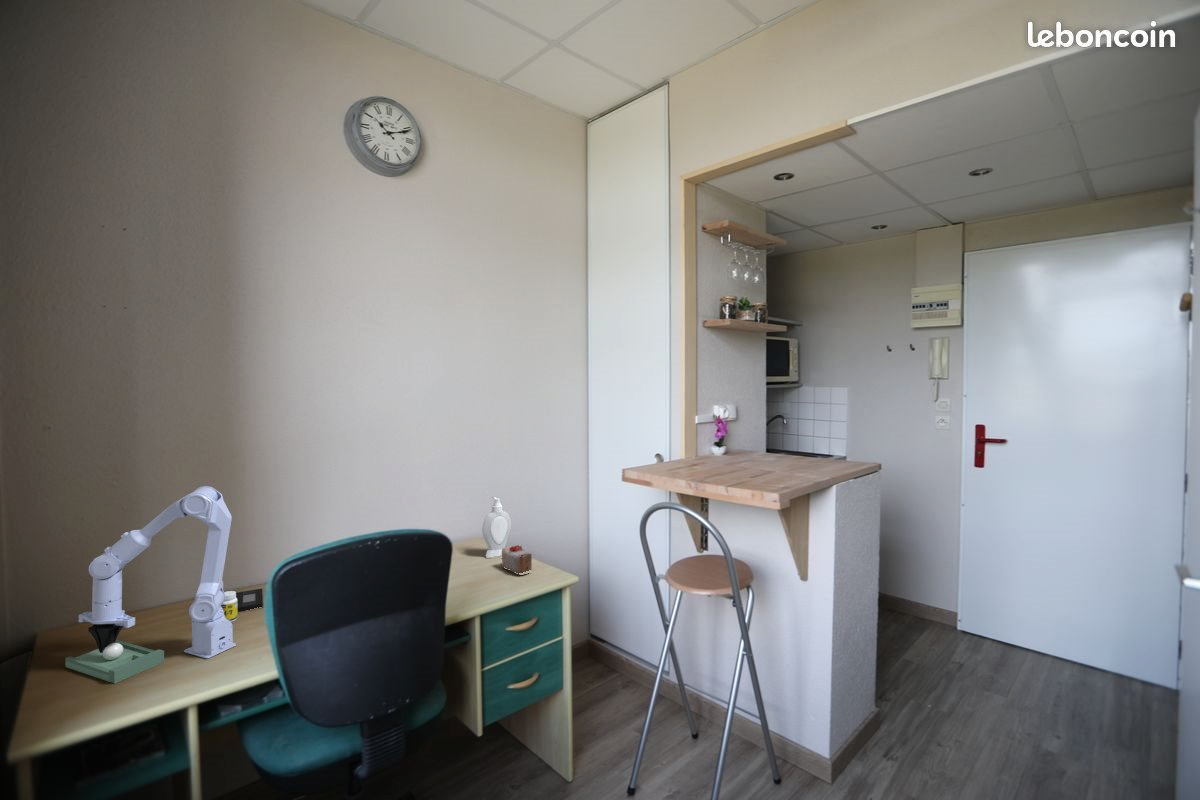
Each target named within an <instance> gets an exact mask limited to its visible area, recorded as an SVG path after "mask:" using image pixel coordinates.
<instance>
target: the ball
mask: <svg viewBox="0 0 1200 800" xmlns="http://www.w3.org/2000/svg"><path fill="white" fill-rule="evenodd" d="M122 653H123V646H122V645H121V644H119V643H112V644H110V645H108V646H107V647H106V648H105V649H104V650H103V657H104V658H105V659H107V660H114V659H116V658H118V657H119V656H120V655H121V654H122Z"/></svg>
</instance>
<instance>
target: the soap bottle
mask: <svg viewBox="0 0 1200 800" xmlns="http://www.w3.org/2000/svg"><path fill="white" fill-rule="evenodd" d="M491 498H492V499H494V500H493V501H494V502H493V505H491V511H490V512H489V513H487V514H486V516H485V518H483V519H484V520H483V523H482V526H481V527H482V529H481V532H482V536H483V539H484V542H485V544H486V546H487V548H488V549H487V550H486V553H485V556H487V557H494V556H500V555H502V548H505V547H507V543H508V540H509V537H510V534H511V531H512V520H511V516H510V514H509V513H508V512H507V511H505V510H503V505H502V503H501V498H498V497H495V496H492V497H491Z"/></svg>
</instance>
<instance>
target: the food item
mask: <svg viewBox="0 0 1200 800" xmlns="http://www.w3.org/2000/svg"><path fill="white" fill-rule="evenodd" d="M522 546H523V545H522V544H521V545H519V544H517V545H515V546H514V545H511V546H510V545H508V546H507V545H506V546H505V548H502V557H501V560H502V563H501V564H502V568H503V567H505V568H507V569H510V570H511V571H513V572H516V573H518V574H519V573H523V572H526V571H529V570H533V569H532V566H533V565H532V561H533V558H532V553H531V552H528V551H526V550H525V549H523V547H522ZM507 569H506V570H507ZM511 571H510V572H511ZM513 572H512V573H513Z"/></svg>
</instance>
